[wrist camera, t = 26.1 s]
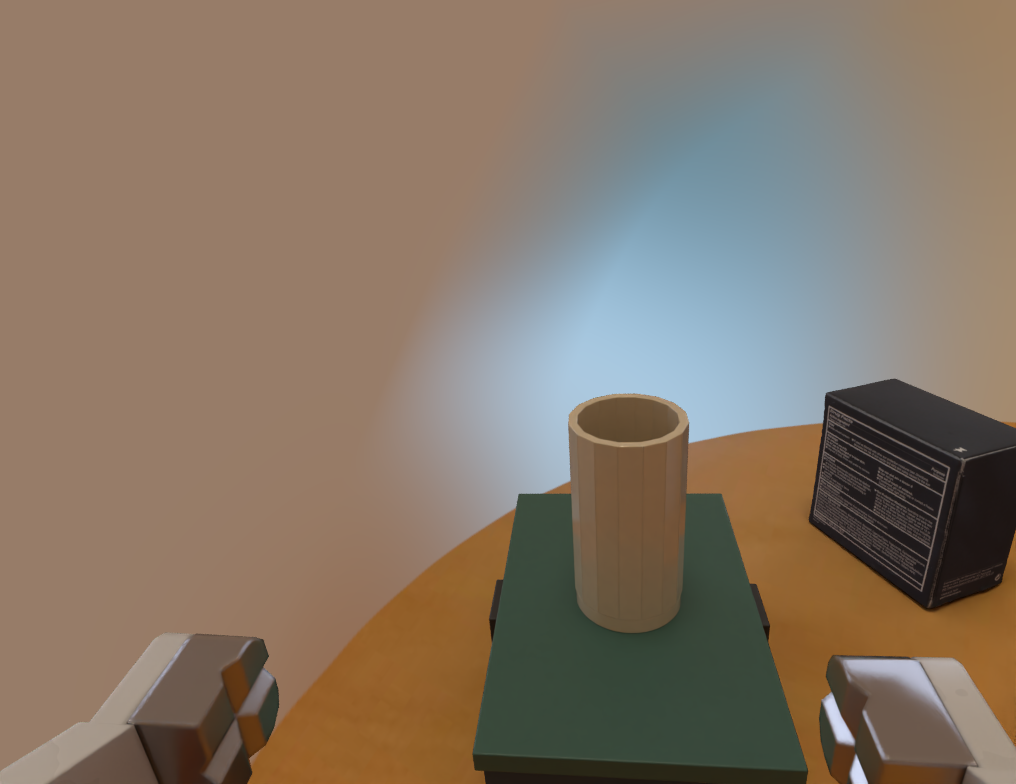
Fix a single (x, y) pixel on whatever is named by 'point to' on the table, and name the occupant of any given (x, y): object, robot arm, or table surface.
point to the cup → (628, 509)
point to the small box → (917, 489)
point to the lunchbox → (631, 670)
